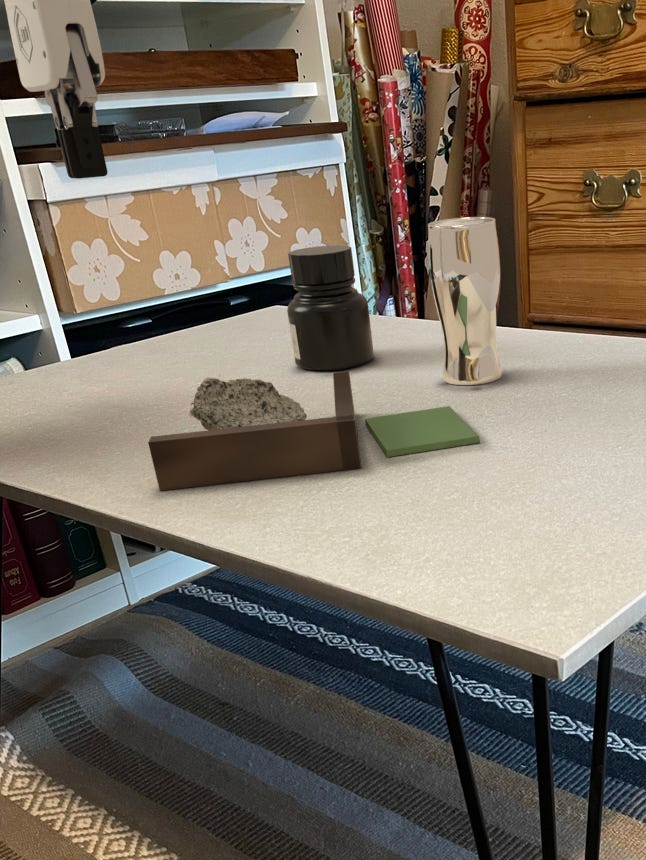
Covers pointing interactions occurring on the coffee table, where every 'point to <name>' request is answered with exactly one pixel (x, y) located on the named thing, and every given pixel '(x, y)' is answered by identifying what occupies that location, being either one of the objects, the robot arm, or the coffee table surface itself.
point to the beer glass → (466, 296)
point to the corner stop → (261, 448)
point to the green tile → (421, 431)
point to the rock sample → (242, 404)
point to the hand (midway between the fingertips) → (88, 176)
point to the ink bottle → (327, 310)
